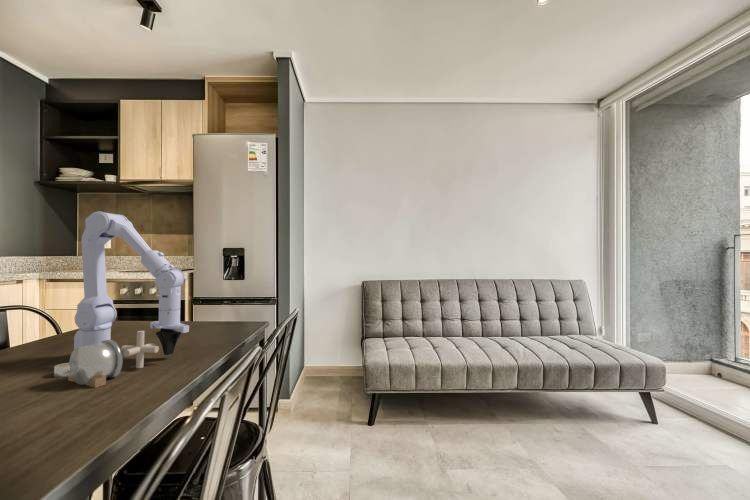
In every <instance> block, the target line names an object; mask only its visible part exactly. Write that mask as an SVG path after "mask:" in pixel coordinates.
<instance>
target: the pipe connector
mask: <svg viewBox="0 0 750 500" xmlns="http://www.w3.org/2000/svg"><path fill="white" fill-rule="evenodd" d="M145 333H146V331H145V330H138V331H137V332H136V345H132V344H131V345H122V346H121V347H120V349H121V351H122V352H123V353H122V355H123V356H124V357H125V358H126V357H131V356H133V355H135V369H142V368H144V363H145V362H144V361H145V360H144V359H145V353H153V354H154V353H156V354H157V353H159V350H160V347H159V345H156V343H155V342H150V343H146V344H145Z"/></svg>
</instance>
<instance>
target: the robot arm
mask: <svg viewBox="0 0 750 500" xmlns="http://www.w3.org/2000/svg"><path fill="white" fill-rule="evenodd" d="M84 223H85V227H84V231H83V232H82V234H81V241H80V243H81V256H82V257H81V258H82V274H83V275H82V277H83V294H84V295H83V296H84V297H83V298H82V299H81V300H80V301H79V303H78V304H77V306H76V309H77V310H76V313H75V315H74V323H75V325H76V327H77V328H79V329H78V330H77V331H76V332H75V334H74V337H73V350H74V349H76V348H78V347H82V346H87V345H92V344H97V343H100V342H102V341H104V340H112V339H111V334H112V333H111V332H112V325H113V322H114V321H115V320H116V318H117V315H118V314H117V309H116V308H115V306H114V300H113V299H112V298H111V297H110V296H109V295H108V286H107V283H108V282H107V270H106V269H107V267H106V249H105V245H106V244H107V243H108V242H109V241H110V240H112V239H114V238H116V237H117V238H121V239H123V241H125V243H126V244H128V246H130V247H131V248H132V249H133V250H134V251H135V252H136V253H137V254H138V255H139V256H140V263H141V264H142V266H143V267H144V268H145V269H146V270H147V271H148V272H149V274H151V276H153V278H154V284H155V286H156V287H157V288H158V320H155V321H151V322H149V324H150V325H149V328H150V329H159V331H155V335H156V337H157V338H158V340H159V342H160V345H161V347H162V351H163V355H164V356H169V355H173V354H174V352H175V348H176V345H177V342H178V340H179V338H180V337H181V335H182V334H186V333H189V332H190V325H188V324H185V323H182V322H181V299H182V298H181V295H182V294H181V292H182V287H181V286H183V284H184V283H185V280H186V279H185V275H184V273H183V271H182V269H178V268H175V265H174V264H171V263H170V262H169V261H168V260H167V259H166V257H165V254H164V253H163V252H162V251H159V250H155V249H152V248H151V247H150V246H149V245H148V243H147V242H146V241H145V240H144V238H142V236H141V235H140V234H139V232H138V231H137V230H136V228H135V227H134V224H133V222H131V221H130V220H129V219H128V218H127V217H126V216H125V215H124V214H117V213H116V214H115V213H110V212H104V211H100V210H99V211H95V212H92V213H91V214H90V215H88V216H87V217H86V218H85V219H84Z"/></svg>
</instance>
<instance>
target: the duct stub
mask: <svg viewBox="0 0 750 500" xmlns="http://www.w3.org/2000/svg"><path fill="white" fill-rule="evenodd" d="M123 356H124V355H123V353H122V351H121V346H120V345H119V344H118V342H116V341H115V340H113V339H111V340H104V341H102V342H100V343H97V344H92V345H87V346H82V347H78V348H76V349H74V348H73V350H72V351H71V354H70V356H69V362H68V363H69V367H70V372H68V376H67V381H68V382H72V383H75V384H78V385H84V386H87V387H92V388H98V387H102V386H106V385H107V378H108V379H113V378H116V377H117V376H118V375H119V374H120V373H121V371H122V368H123V363H124V357H123Z"/></svg>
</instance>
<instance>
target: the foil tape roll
mask: <svg viewBox="0 0 750 500" xmlns="http://www.w3.org/2000/svg"><path fill="white" fill-rule="evenodd" d="M68 372H70V367H69V362H64V363H60V364H55V365H54V366H53V377H54V378H65V377H66V378H68Z"/></svg>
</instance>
